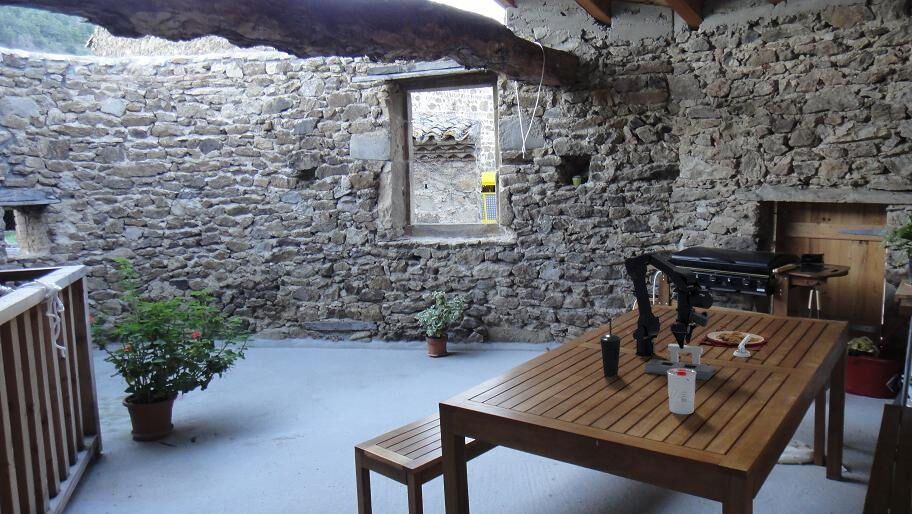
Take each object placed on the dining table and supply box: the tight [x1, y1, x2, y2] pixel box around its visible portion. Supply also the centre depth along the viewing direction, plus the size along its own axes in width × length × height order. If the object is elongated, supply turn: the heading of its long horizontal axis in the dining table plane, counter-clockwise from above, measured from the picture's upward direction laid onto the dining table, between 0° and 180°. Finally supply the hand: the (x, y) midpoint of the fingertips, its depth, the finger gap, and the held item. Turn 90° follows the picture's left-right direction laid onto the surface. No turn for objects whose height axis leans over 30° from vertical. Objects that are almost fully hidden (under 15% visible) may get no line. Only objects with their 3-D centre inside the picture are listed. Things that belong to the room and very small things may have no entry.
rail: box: [644, 358, 714, 381], centre depth 240 cm, size 22×8×3 cm, turn 57°
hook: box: [733, 334, 751, 358], centre depth 261 cm, size 6×10×6 cm
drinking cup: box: [599, 319, 622, 377], centre depth 241 cm, size 8×8×20 cm
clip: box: [667, 343, 704, 365], centre depth 251 cm, size 12×3×7 cm, turn 57°
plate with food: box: [697, 325, 772, 351], centre depth 284 cm, size 25×26×4 cm
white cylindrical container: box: [667, 368, 697, 415], centre depth 201 cm, size 10×8×12 cm
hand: (685, 346), depth 251 cm, fingers open, 9 cm apart
